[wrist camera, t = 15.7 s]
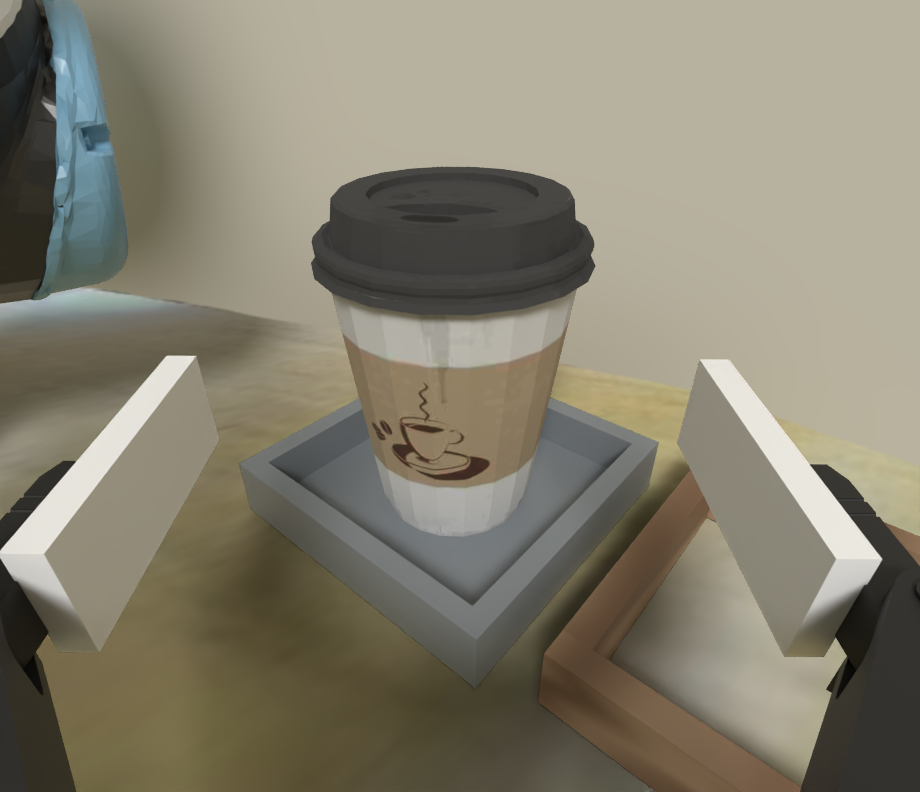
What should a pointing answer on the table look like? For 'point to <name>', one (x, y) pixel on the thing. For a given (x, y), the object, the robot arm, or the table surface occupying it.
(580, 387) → the table surface
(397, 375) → the coffee cup
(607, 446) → the tray
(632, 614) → the collar
